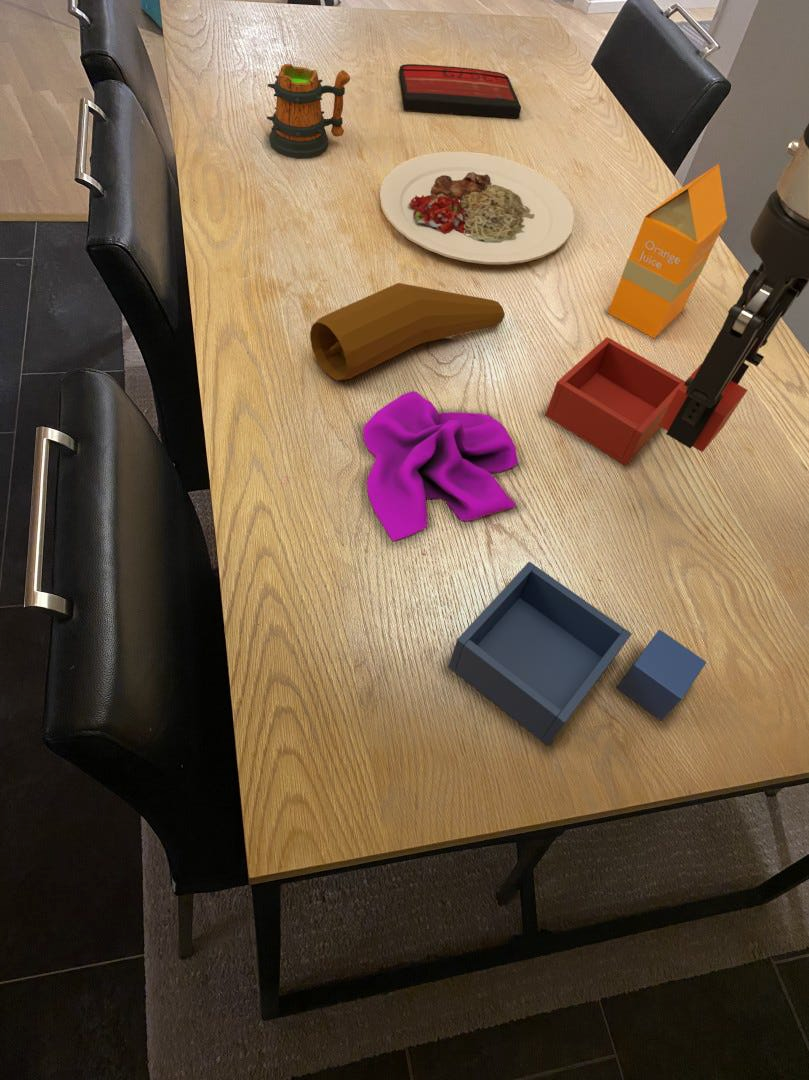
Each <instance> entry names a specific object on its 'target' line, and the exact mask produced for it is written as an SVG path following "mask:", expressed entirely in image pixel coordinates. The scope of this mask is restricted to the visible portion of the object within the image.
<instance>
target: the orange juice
mask: <svg viewBox="0 0 809 1080" xmlns="http://www.w3.org/2000/svg"><path fill="white" fill-rule="evenodd" d="M726 209H727V208H726V203H725V195H724V189H723V183H722V177H721V169H720V163H717V164H716V165H714V166H713V167H711V168H710V169H708V170H707V171H705V172H704V173H702V174H701V175H699V176H697V177H696V178H695V179H693V180H692V181H689V182H688V183H686V184H685V185H684V186H683V187H681V188H680V189H678V190H677V191H675V192H673V193H672V194H671V195H670V196H668V197H667V198H666V199H665V200H664V201H662V202H660V204H659V205H657V206H656V207H654V209H652V210H651V211H650V212H648V213H647V214H646V215H645V216H644V217H643V220H642V223H641V226H640V228H639V230H638V233H637V236H636V239H635V241H634V244H633V246H632V249H631V251H630V253H629V254H630V255H629V256H628V259H627V261H626V263H625V265H624V269H623V271H622V274H621V278H620V280H619V283H618V285H617V288H616V290H615V292H614V296H613V297H612V301H611V303H610V306H609V308H608V311H607V314H609V315H611V316H612V317H614V318H616V319H618V320H620V321H622V322H623V323H625V324H627V325H629V326H630V327H632V328H634V329H635V330H638V331H640V332H641V333H643V334H645V335H646V336H649V337H651V338H652V339H655V338H656V337H657V336H659V335H660V333H661V332H662V331H663V330H664V329H665V328H667V326H668V325H669V324H670V323H672V321H673V320H675V318H677V317H678V315H680V314H681V312H683V310H684V308H685V306H686V304H687V303H688V300H689V297H690V296H691V294H692V291H693V290H694V287H695V285H696V283H697V282H698V279H699V277H700V276H701V273H702V272H703V270H704V268H705V265H706V263H707V261H708V259H709V257H710V254H711V252H712V250H713V248H714V246H715V244H716V242H717V239H718V238H719V235H720V234H721V231H722V230H723V227H724V225H725V223H726V221H727V220H728V216H727V210H726Z"/></svg>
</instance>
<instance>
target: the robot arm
mask: <svg viewBox="0 0 809 1080" xmlns="http://www.w3.org/2000/svg"><path fill="white" fill-rule="evenodd" d="M785 152H786V153H787V154H789V155H790V156H792V158H791V159H790V161H788V163H787V164H786V166H785V168H784V170H783V171H782V173H781V175H780V177H779V179H778V181H777V182H776V190H774V191H773V192H771V193H770V195H769V196H768V198H767V200H766V202H765V204H764V205H763V208H762V210H761V212H760V213H759V215H758V217H757V219H756V221H755V223H754V224H753V227H752V228H751V231H750V235H749V239H750V244H751V245H750V246H751V248H752V249H753V251H754V253H755V254H756V255H757V257H759V259H760V260H761V263H760V265H759V267H758V269H756V268H754V269H752V271H751V272H750V274H749V275H748V277H747V279H746V281H745V282H744V284H743V286H742V293H741V294H740V297H739V298H738V300H737V301H736V303H735V304H733V305H732V306H731V307H730V308H729V310H728V312H727V313H728V314H727V316H726V318H725V320H724V322H723V324H722V327H721V329H720V330H719V332H718V334H717V336H716V338H715V340H714V341H713V343H712V345H711V347H710V349H709V350H708V352H707V353H706V356H705V357H704V359H703V361H702V363H701V364H702V365H701V364H700V365H701V366H700V365H699V366H700V368H699V370H698V372H697V373H696V375H695V377H694V379H692V378H691V377H690V376H689V377H690V378H689V377H688V378H689V379H688V378H687V379H688V380H687V379H686V380H687V381H686V380H685V381H686V382H685V384H684V385H685V386H686V387H687V389H686V390H687V391H686V392H685V393H686V395H688V396H687V398H686V399H685V401H684V403H683V405H682V406H681V408H680V410H679V412H678V414H677V415H676V417H675V419H674V421H673V422H672V424H671V426H670V428H669V430H668V431H667V430H666V435H667V436H669V437H670V438H672V439H673V440H675V441H676V442H678V443H680V444H682V445H683V446H685V447H686V448H688V449H692V447H693V445H694V443H695V442H696V440H697V438H698V437H699V435H700V433H701V432H702V430H703V429H704V427H705V425H706V424H707V422H708V420H709V419H710V417H711V416H712V414H713V412H714V411H715V409H716V408H717V406H718V404H719V403H720V401H721V399H722V398H723V396H722V393H723V392H724V390H725V388H726V387H727V385H728V384H729V382H730V381H733V382H735V383H736V384H738V385H739V383H740V382H741V380H742V378H743V377H744V375H746V372H747V370H748V369H749V367H750V365H749V364H752V365H753V366H755V367H759V365H760V364H761V363H762V361H763V359H764V358H765V356H764V355H762V354H760V353H758V351H759V350H760V349H762V347H765V346H766V344H767V343H768V339H769V338H770V336H771V334H772V333H773V331H774V329H775V328H776V326H777V325H778V324H779V322H780V320H781V318H782V317H784V316H785V315H786V313H787V312H788V310H790V308H791V307H792V305H793V303H794V302H795V300H796V298H798V297H799V296H800V295H801V294H802V293H803V292H804V290H805V289H806V288H807V286H808V284H809V122H808V124H807V126H806V127H805V129H804V131H803V134H802V136H801V137H800V139H799V140H797V139H792V140H791V141H790V142H789V143H788V144H787V145H786V148H785ZM746 362H748V363H749V364H747V363H746Z"/></svg>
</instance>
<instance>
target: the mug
mask: <svg viewBox="0 0 809 1080" xmlns="http://www.w3.org/2000/svg"><path fill="white" fill-rule="evenodd" d="M274 77H275V78H276V80H275V81H274V83H267V87H268V88H271V89H272V90H274V93H273V96H274V97H276V102H275V107H274V110H275V112H274V113H273V114H272V116H267V117H266V120H268V121H271V122H272V124H273V125H272V127H271V131H270V133H269V135H268V136H269V145H270V147H271V148H272V150H273V151H275V152H276V153H278V154H280V155H282V156H285V157H287V158H291V159H292V158H294V159H297V160H299V159H312V158H317V157H319V156H321V155H323V154H325V153H326V152H327V150H328V148H329V145H330V143H329V142H330V141H329V137H328V134H327V131H326V128H325V127H328V126H331V131H330V132H331V134H332V136H333V137H335V138H336V137H341V136H343V135H344V133H345V130H344V128H343V126H342V125H343V122H344V121H343V117H342V114H343V110H344V95H345V93H346V91H345V90H346V87H345V86H346V85H347V84H348V83H349V82H350V81H351V77H350V74H349V73H348V72H347V71H346V70H343V69H342V70H340V71H338V73H337V74H336V77H335V82H334V85H333V86H332V85H328V84H327V85H326V84H325V85H322V84H321V83H322V82H323V81H324V80H323V78H322V79H319V75H318V71H317V69H310V68H307V67H303V66H294V65H293V64H292V63H284V64H283V65H282V66H281V67H280V69H279V72H278V75H275V76H274ZM323 94H333V95H334V98H333V99H334V101H333V110H332V116H331V118H324V115H323V114H325V111H324V110H322V103H321V101H322V100H323V98H322V96H323Z"/></svg>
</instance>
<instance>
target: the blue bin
mask: <svg viewBox="0 0 809 1080" xmlns="http://www.w3.org/2000/svg"><path fill="white" fill-rule="evenodd" d="M632 634H633V633H632V632H630V631H629V630H628V629H626V628H625V627H623V626H622V625H621V624H620V623H618V622H616V621H614V620H613V619H612V618H610V617H609V616H608V615H606V614H605V613H604V612H602V611H600V610H599V609H598V608H596V607H595V606H593V605H592V604H591V603H590V602H588V601H586V600H585V599H584V598H582V597H581V596H579V595H578V594H577V593H575V592H573V591H572V590H570V589H569V588H568V587H566V586H565V585H564V584H562V583H561V582H560V581H558V580H557V579H555V578H554V577H552V576H551V575H550V574H548V573H547V572H545V571H544V570H543V569H541V568H539V566H536V565H535V564H534V563H532V562H531V561H528V562H526V564H525V565H524V566H523V567H522V568H521V570H520V571H519V572H518V573H517V574H516V575H515V576H514V577H513V578H512V579H511V581H510V582H508V584H507V585H506V586H504V588H503V589H502V590H501V591H500V592H499V593H498V594H497V596H496V597H494V599H493V600H492V601H491V602H490V603H489V604H488V606H487V607H485V609H483V610H482V612H481V613H480V614H479V615H478V616H477V617H476V619H474V620H473V621H472V623H471V624H470V625H469V626H468V627H467V628H466V629H465V630H464V631H463V632H462V633H461V634H460V636H459V637H458V638H457V639H456V642H455V645H454V648H453V650H452V654H451V657H450V660H449V663H448V666H447V667H448V668H449V669H450V670H451V671H452V672H453V673H455V674H456V675H457V676H458V677H460V678H461V679H463V680H464V681H465V682H466V683H467V684H468V685H470V686H471V687H473V688H474V689H475V690H476V691H477V692H479V693H480V694H481V695H482V696H484V697H485V698H487V699H488V700H489V701H490V702H492V703H493V704H494V705H495V706H496V707H498V708H499V709H500V710H502V712H504V713H505V714H507V715H508V716H509V717H511V718H512V719H513V720H514V721H516V723H518V724H519V725H521V726H522V727H523V728H524V729H526V731H528V732H529V733H530V734H532V735H533V736H534V737H536V738H537V739H538V740H540V741H541V742H542V743H543V744H544V745H546V746H547V747H549V746H550V745H551V744H552V743H553V741H554V740H555V738H556V737H557V736H558V734H559V733H560V732H561V731H562V729H563V728H564V726H565V725H566V724H567V723H568V721H569V720H570V719H571V717H572V716H573V714H574V713H575V712H576V710H577V709H578V708H579V706H581V704H582V702H583V701H584V700H585V698H586V697H587V696H588V694H589V693H590V692H591V690H592V689H593V688H594V687H595V685H596V684H597V682H599V680H600V678H601V677H602V676H603V674H604V673H605V672H606V670H607V669H608V668H609V666H610V665H611V664H612V662H613V661H614V660H615V658H616V657H617V656H618V654H619V653H620V652H621V650H622V649H623V647H624V646H625V644H626V643H627V642H628V640H629V639H630V638H631V636H632Z"/></svg>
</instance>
